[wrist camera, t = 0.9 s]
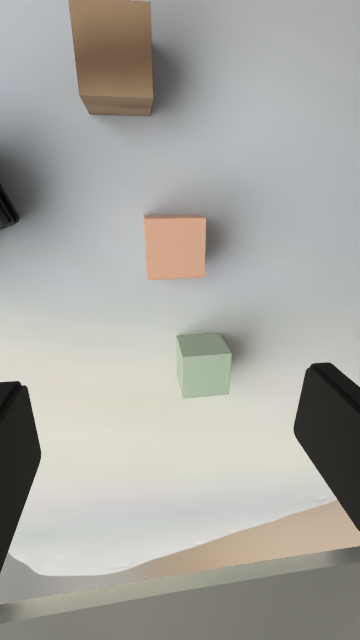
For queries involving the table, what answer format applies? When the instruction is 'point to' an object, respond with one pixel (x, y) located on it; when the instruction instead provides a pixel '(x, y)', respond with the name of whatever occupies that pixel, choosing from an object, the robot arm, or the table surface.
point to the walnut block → (113, 55)
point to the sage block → (203, 365)
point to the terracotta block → (175, 246)
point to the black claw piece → (6, 211)
